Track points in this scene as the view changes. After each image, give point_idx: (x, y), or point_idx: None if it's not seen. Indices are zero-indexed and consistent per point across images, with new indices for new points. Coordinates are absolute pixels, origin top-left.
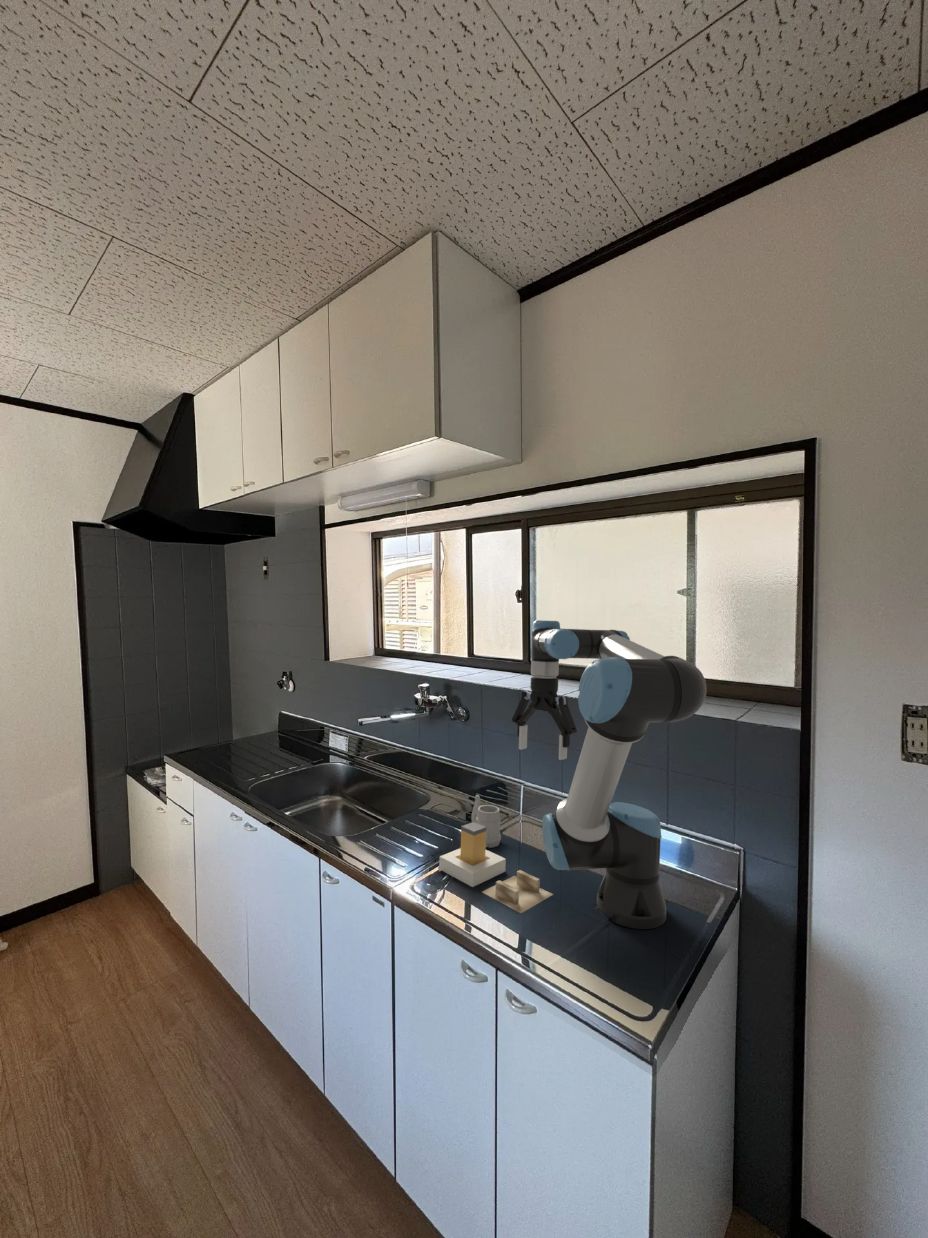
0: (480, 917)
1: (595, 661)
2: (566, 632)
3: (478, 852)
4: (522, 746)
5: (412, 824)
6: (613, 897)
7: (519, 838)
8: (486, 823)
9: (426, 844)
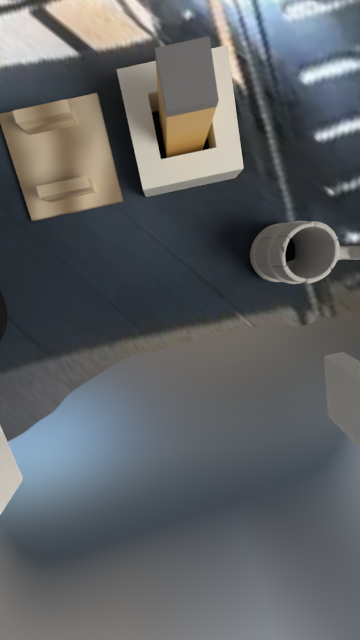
0: (30, 40)
1: None
2: None
3: (161, 111)
4: (338, 383)
5: None
6: None
7: (254, 323)
8: (278, 230)
9: (343, 122)
